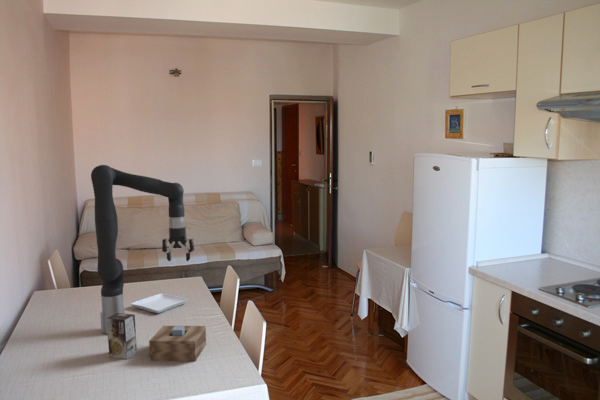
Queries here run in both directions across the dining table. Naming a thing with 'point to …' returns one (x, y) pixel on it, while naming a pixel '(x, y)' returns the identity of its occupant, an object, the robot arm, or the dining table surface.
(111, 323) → the coffee box
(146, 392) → the dining table surface
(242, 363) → the dining table surface
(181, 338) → the wooden socket block
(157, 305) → the salad plate
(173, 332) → the slate peg
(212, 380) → the dining table surface
